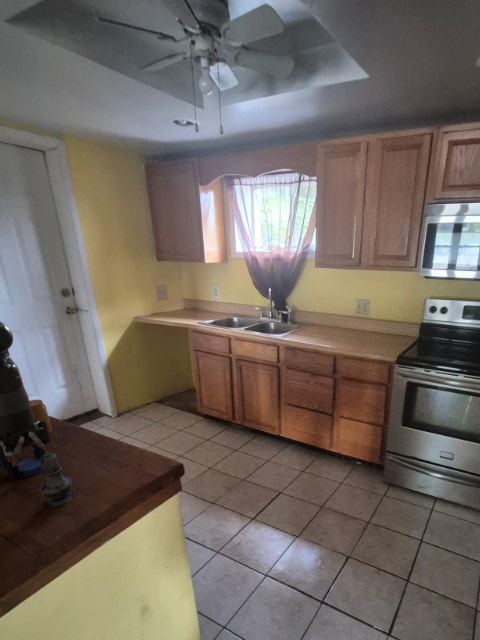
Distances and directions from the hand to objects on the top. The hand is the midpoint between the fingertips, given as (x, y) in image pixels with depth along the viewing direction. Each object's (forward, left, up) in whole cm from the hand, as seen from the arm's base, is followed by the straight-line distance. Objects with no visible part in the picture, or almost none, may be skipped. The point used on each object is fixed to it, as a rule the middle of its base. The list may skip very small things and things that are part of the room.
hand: (29, 470), depth 89 cm
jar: (-10, +16, 0) cm, 19 cm away
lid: (0, 0, +1) cm, 1 cm away
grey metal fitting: (+15, -8, 0) cm, 17 cm away
